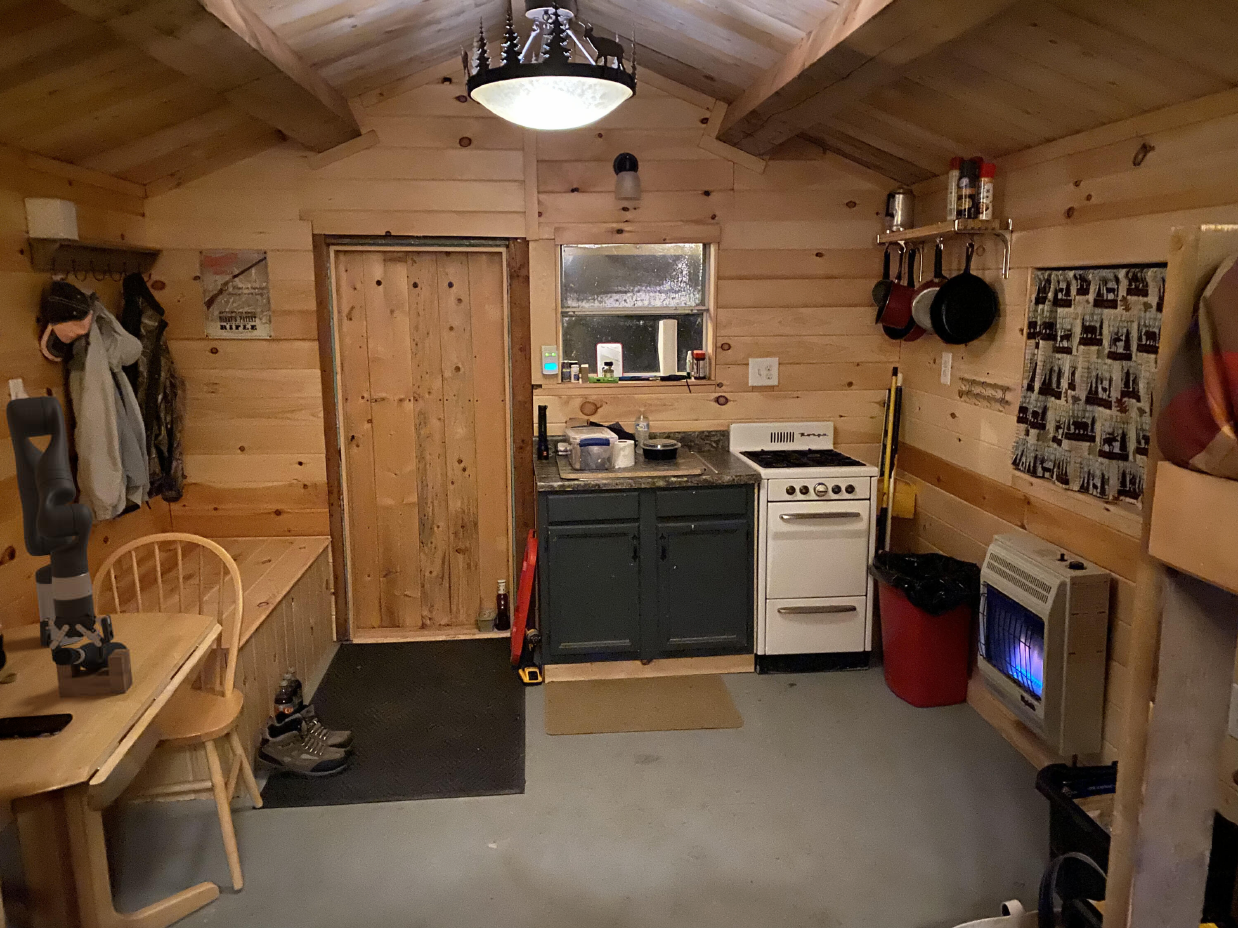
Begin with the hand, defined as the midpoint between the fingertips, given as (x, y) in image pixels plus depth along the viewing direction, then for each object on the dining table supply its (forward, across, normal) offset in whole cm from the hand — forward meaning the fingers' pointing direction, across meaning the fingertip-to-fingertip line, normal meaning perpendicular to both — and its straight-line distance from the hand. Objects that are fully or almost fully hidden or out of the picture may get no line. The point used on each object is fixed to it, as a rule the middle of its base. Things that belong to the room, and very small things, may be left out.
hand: (80, 661), depth 203 cm
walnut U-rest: (+10, 0, +7) cm, 12 cm away
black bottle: (+7, -1, +22) cm, 23 cm away
